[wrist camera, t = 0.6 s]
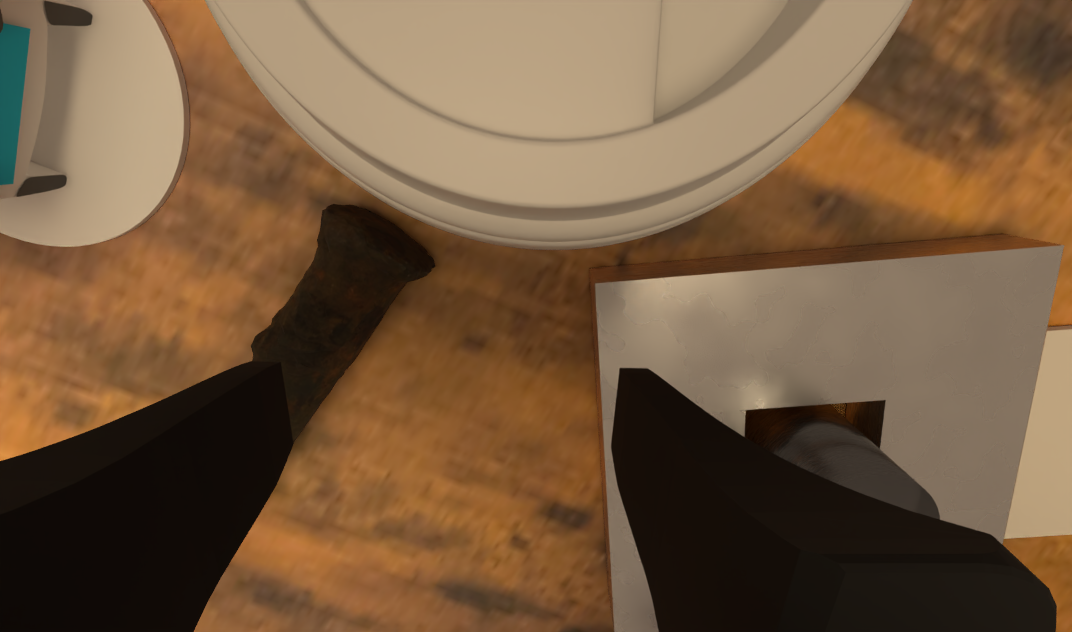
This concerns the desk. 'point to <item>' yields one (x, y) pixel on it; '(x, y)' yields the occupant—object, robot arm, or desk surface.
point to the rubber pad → (1046, 447)
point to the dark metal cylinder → (836, 453)
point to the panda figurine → (87, 119)
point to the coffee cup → (556, 102)
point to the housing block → (839, 361)
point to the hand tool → (338, 304)
